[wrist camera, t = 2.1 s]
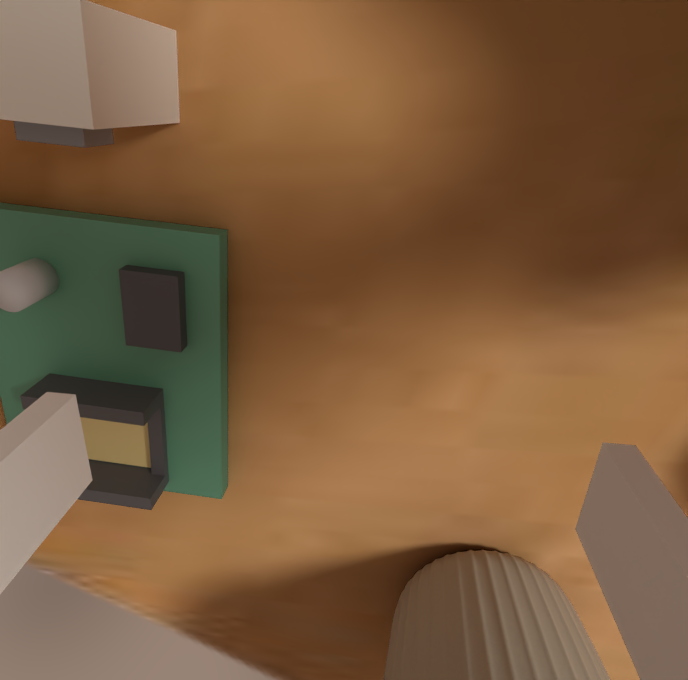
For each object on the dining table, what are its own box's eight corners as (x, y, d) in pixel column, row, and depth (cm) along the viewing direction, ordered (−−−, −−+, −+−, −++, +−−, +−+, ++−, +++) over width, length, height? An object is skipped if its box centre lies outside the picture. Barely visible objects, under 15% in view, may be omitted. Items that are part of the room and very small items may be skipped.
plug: (93, 22, 27) (-37, -14, 19) (176, 30, 27) (79, -2, 19) (104, 129, 29) (-9, 138, 21) (180, 137, 29) (95, 150, 21)
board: (-24, 199, 32) (-86, 213, 28) (227, 229, 31) (201, 248, 27) (29, 457, 40) (-13, 496, 36) (227, 485, 40) (208, 529, 36)
